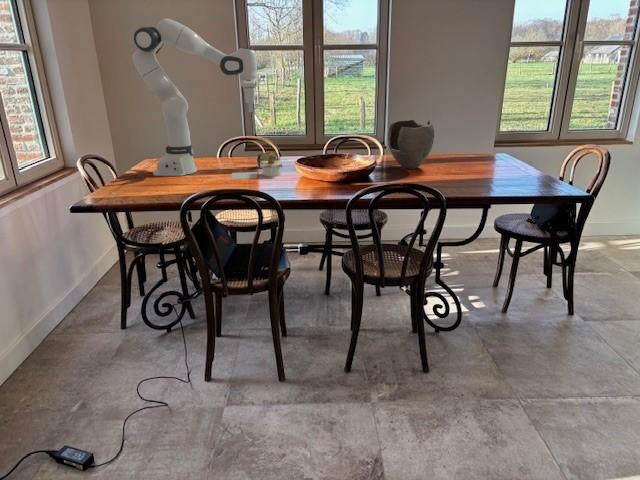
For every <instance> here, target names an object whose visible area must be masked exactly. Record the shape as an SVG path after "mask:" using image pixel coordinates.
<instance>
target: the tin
mask: <svg viewBox="0 0 640 480" xmlns="http://www.w3.org/2000/svg"><path fill="white" fill-rule="evenodd" d="M268 155H274V161H278V160H279V154H278V152H276V151H275V150H269V151H265V152H261V153H259V154H258V155H257V157H256V164H257V166H258V167H259V168H260V161H268Z"/></svg>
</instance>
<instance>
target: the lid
mask: <svg viewBox="0 0 640 480" xmlns="http://www.w3.org/2000/svg"><path fill="white" fill-rule="evenodd" d="M264 167H280V168H283V160H281V159H280V160H279V159H278V161H274V155H268V161H260V167H259V168H260V169H261V168H262V169H263V168H264Z"/></svg>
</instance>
